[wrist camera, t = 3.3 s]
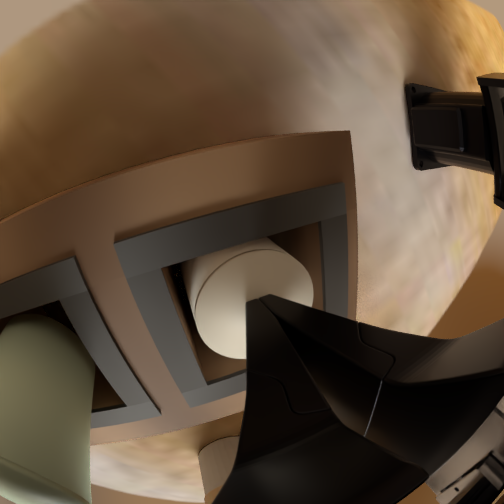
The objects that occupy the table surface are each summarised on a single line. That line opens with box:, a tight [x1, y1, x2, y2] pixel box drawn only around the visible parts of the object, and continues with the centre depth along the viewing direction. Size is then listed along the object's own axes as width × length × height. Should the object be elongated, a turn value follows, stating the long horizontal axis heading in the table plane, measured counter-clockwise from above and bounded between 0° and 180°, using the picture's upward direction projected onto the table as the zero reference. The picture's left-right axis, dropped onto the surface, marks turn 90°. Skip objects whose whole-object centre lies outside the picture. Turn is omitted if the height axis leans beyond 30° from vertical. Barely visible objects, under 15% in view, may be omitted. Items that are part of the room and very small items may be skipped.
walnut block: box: [0, 131, 358, 446], centre depth 10 cm, size 16×10×6 cm, turn 100°
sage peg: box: [0, 313, 95, 504], centre depth 5 cm, size 4×4×6 cm
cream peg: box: [179, 237, 313, 359], centre depth 11 cm, size 4×4×6 cm
